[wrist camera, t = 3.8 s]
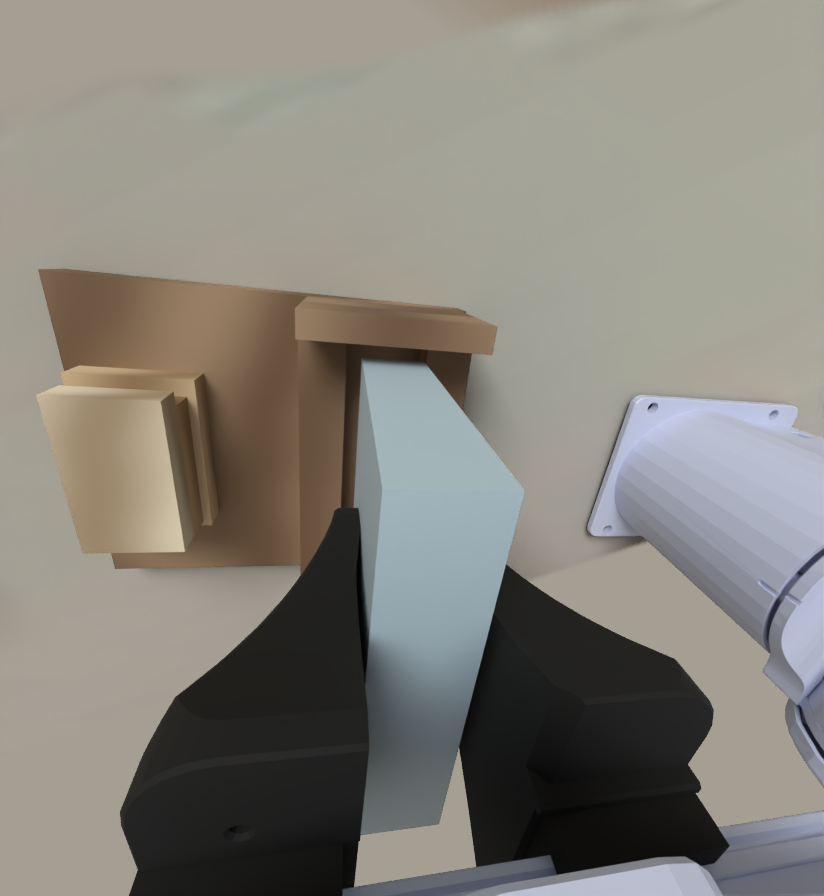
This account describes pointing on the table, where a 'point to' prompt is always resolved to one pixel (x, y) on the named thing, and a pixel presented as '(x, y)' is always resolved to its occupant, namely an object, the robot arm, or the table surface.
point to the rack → (260, 391)
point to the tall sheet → (422, 581)
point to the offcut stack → (133, 456)
